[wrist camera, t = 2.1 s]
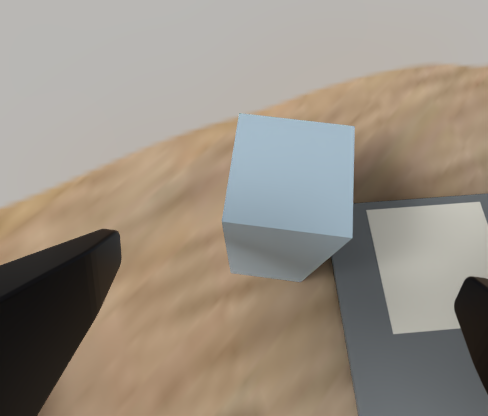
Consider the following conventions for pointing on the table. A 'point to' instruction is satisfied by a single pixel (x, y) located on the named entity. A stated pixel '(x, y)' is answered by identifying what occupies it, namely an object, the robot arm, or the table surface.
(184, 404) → the table surface
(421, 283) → the mat
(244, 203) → the pillar
